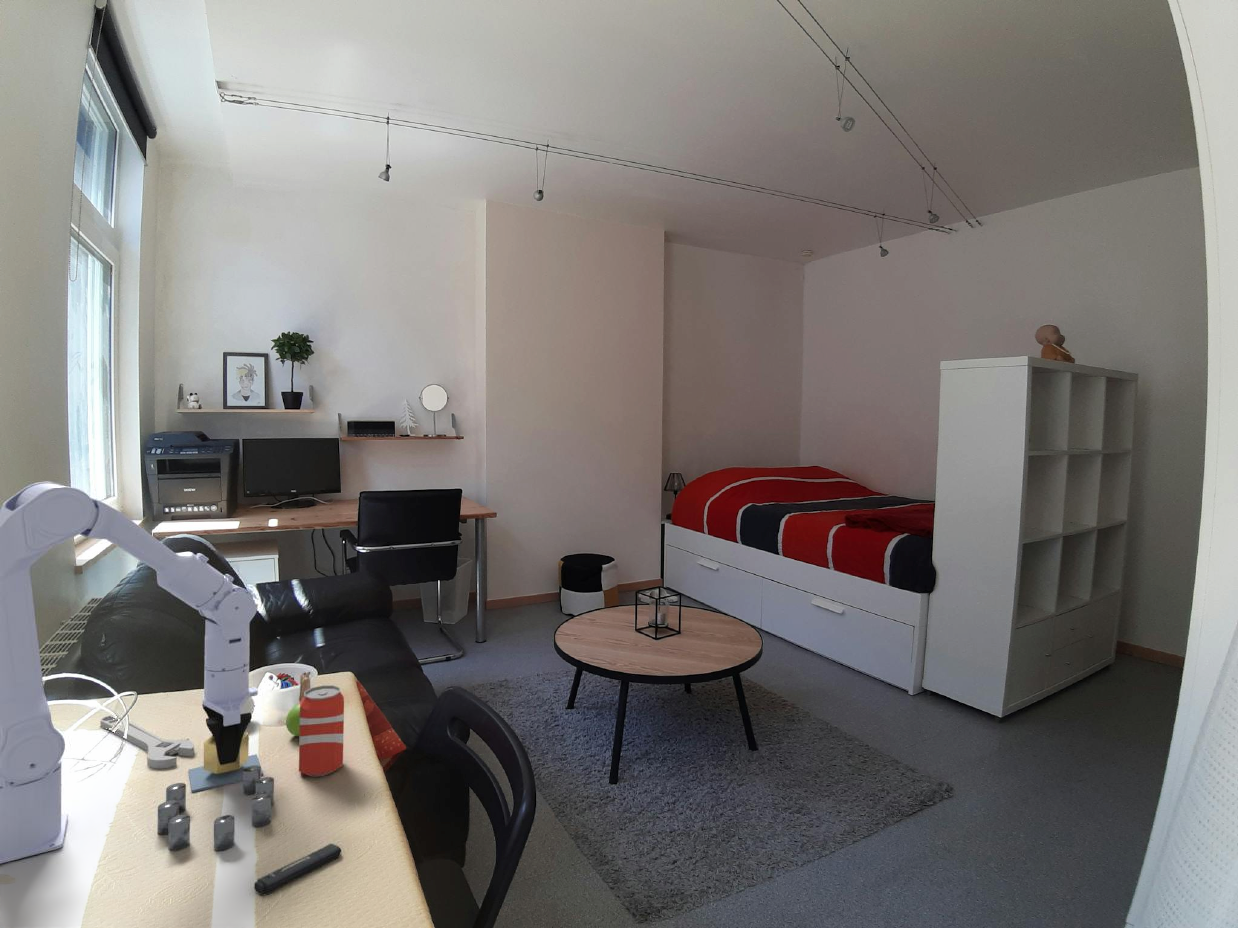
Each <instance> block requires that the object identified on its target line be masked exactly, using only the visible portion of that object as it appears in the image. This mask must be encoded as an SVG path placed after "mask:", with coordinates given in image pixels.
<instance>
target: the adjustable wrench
mask: <svg viewBox="0 0 1238 928" xmlns="http://www.w3.org/2000/svg"><path fill="white" fill-rule="evenodd" d="M111 715H112V714H111ZM111 715H107V716H103V717H101V719H100V727H101V728H103V729H105V730H107V729H109V728H112V727H113V726H115V724H116V723H117V721H118V719H121V718H122V717H123V716H121V715H118V714H115V715H116V716H117V718H116V719H115V718H113V717H111ZM113 719H114V720H113ZM128 721H129V730H128V732H127V740H126V741H128V742H129V743H131V744H133V745H135V746H137V747H139V748H140V749H142V750H145V752H147V755H146V756H147V757H146V762H147V767H150V768H153V769H167V768H173V767H176V766H177V765H178V764H177V761H178V760H177V759H178V758H177V756H173V755H175V754H177V755H178V756H183V757H193V756H194V755H195V744H194V742H193V741H191V740H189V738H188V737H187V738H183V739H165V738H162V737H159V736H157V735H156V734H154V733H152V732H150V731H149V730H146V729H145V728H143V727H141V726H139V725H137V724H135V722H132V721H130V720H128ZM106 728H107V729H106ZM114 735H116V736H118V737H120V738H122V739H124V738H123V736H124V725H123V724H122V725H121V726H120V728H118V729H117V730H116V731H115V734H114Z"/></svg>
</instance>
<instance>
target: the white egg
mask: <svg viewBox="0 0 1238 928" xmlns="http://www.w3.org/2000/svg"><path fill="white" fill-rule="evenodd" d="M254 704H255V700H254V698H253V696H252V697H250V698H249V699H248V700H247V702H246V703H245V705H244V706H243V708H242V709H241V711H240V714H245V713H251V715H252V716H253V714H254V710H255V707H256V704H255V705H254Z"/></svg>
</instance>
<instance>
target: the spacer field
mask: <svg viewBox="0 0 1238 928" xmlns="http://www.w3.org/2000/svg"><path fill="white" fill-rule="evenodd" d="M261 768H262V766H261V767H260V766H258V765H253V766H249V767H247V768H245V769H244V770H243V780H242V793H243V795H244V796H252V795H255V796H254V797H252V800H251V825H252V827H254V828H261V827H264V826H265V827H266V826H267V825H268V824H270V823H271V820H272V805H273V804H274V802H275V801H274V800H275V798H274V797H275V792H274V791H275V778H274V777H271V776H264V777H262V776H261ZM186 789H187V784H186V783H185V782H176V783H173V784H170V785H168V786H167V787H166V788H165V801H164V802H162V803H160V804H159V805H158V806H157V834H158V835H161V836H163V835H164V836H165V835H168V836H167V837H168V838H167V839H168V841H167V842H168V843H167V845H168V850H169V851H173V852H175V851H180V850H182V849H185V848H187V847H189V845H190V842H191V840H190V839H191V815H189V814H181V813H183V812H185V810H186V807H187V805H186V800H187V799H186V798H187V797H186V796H187V795H186V794H187V790H186ZM179 814H180V815H179ZM235 823H236V822H235V816H234V815H231V814H225V815H222V816H219V817H218V818H215V820H214V821H213V850H214V851H216V852H222V851H226V850H229V849H231V848H233V846H234V845H235V826H236V825H235Z"/></svg>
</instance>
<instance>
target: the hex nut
mask: <svg viewBox="0 0 1238 928" xmlns="http://www.w3.org/2000/svg"><path fill="white" fill-rule="evenodd" d="M249 739H250V735H249V733H248V732H246V731H245V732H244V735H243V738H242V741H241V746H240V750H239V754H238V758H237V761H236V762H233V763H229V764H224V765H220V763H219V760H218V756H217V750H216V744H215V740H214V737H213V735H212V734H211V736H210V737H209V738H207V739H206V740H205V741H204V742H203V766H204V770H206V771H209V772H212V773H215V774H219V773H224V772H228V771H232V770H236V769H240V768H241V767H242V766H243V765H244V763H245V762H246V761H247V760H248V756H249V744H250V743H249V741H250V740H249Z"/></svg>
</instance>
